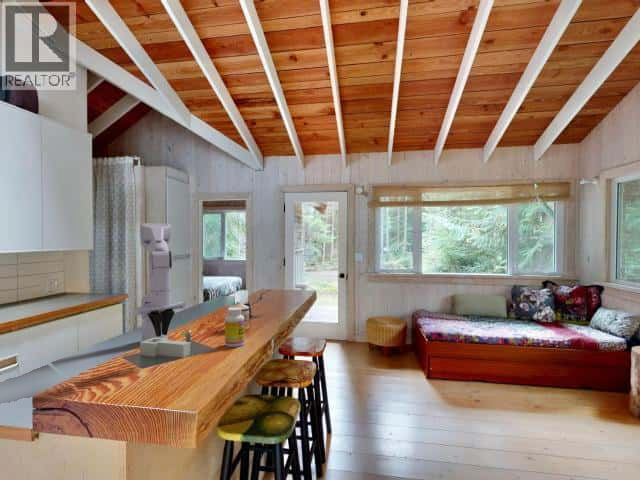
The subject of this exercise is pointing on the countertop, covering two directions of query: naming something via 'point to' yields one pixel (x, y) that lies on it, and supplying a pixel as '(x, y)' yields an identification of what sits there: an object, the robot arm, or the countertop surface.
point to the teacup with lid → (243, 313)
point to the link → (164, 347)
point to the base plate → (150, 361)
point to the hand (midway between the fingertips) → (161, 335)
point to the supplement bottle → (234, 328)
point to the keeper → (187, 335)
